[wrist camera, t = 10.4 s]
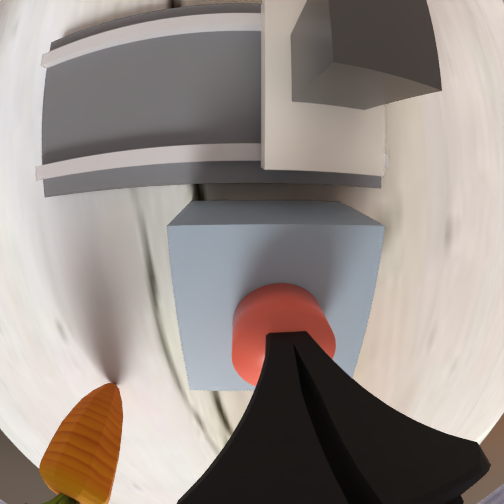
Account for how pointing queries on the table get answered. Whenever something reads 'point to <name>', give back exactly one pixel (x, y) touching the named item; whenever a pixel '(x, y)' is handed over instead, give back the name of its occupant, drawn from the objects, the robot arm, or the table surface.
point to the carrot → (86, 450)
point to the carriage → (339, 79)
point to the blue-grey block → (268, 274)
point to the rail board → (161, 104)
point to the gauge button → (275, 324)
